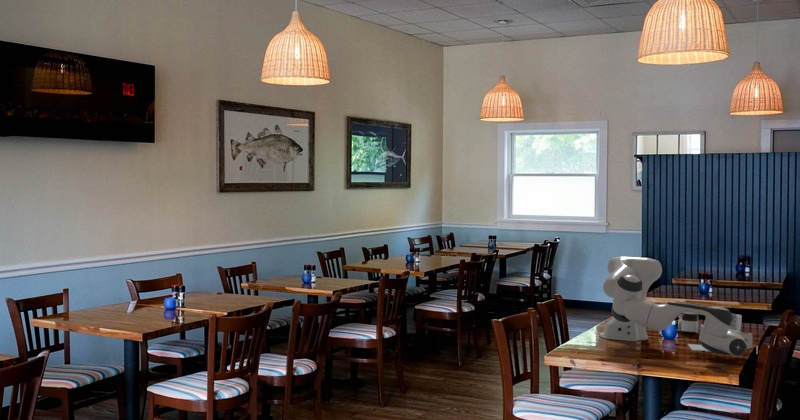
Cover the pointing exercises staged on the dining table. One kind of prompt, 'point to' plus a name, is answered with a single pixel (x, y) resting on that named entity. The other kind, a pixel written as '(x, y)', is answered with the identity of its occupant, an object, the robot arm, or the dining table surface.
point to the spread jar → (689, 323)
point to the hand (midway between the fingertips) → (723, 334)
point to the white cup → (738, 323)
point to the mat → (697, 348)
